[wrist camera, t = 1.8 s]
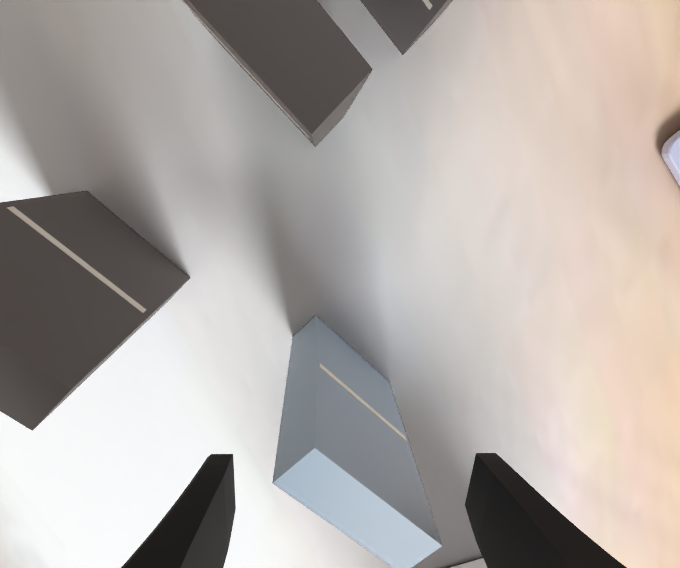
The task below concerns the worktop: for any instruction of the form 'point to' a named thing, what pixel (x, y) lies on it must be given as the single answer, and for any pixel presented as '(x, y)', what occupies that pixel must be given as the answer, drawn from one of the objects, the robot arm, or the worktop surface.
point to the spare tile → (351, 450)
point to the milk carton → (473, 564)
